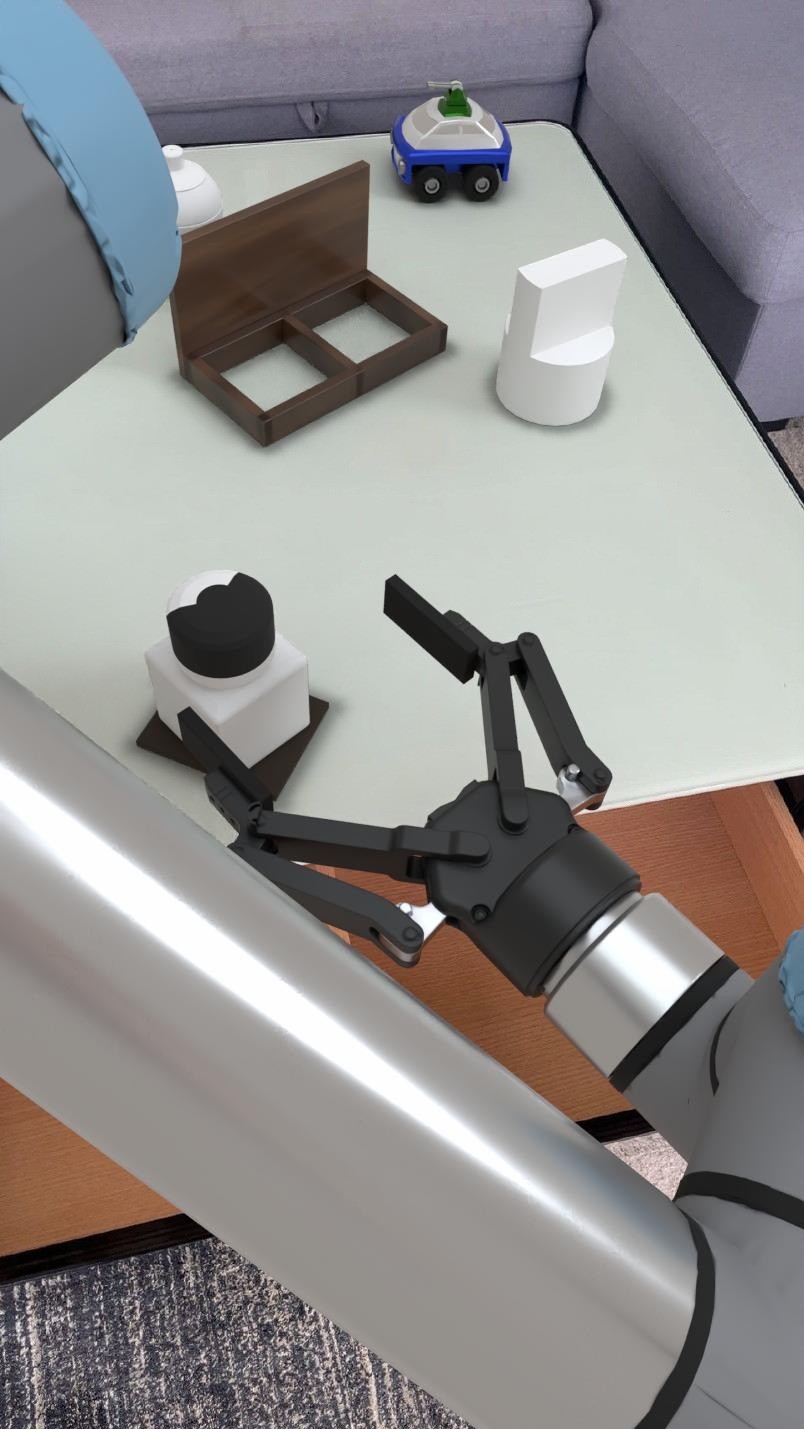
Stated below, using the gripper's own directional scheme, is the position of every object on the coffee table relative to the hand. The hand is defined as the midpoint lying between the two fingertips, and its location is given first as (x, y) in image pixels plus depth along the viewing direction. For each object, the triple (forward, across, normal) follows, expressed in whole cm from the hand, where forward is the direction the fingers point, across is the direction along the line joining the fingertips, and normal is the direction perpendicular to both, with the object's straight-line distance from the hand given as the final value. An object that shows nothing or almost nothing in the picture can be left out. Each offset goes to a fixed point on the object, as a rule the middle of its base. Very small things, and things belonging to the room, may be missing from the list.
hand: (292, 655), depth 56 cm
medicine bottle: (+7, 0, -14) cm, 15 cm away
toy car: (+47, +58, -14) cm, 76 cm away
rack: (+32, +28, -14) cm, 45 cm away
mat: (+7, 0, -14) cm, 16 cm away
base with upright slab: (+17, +41, -14) cm, 47 cm away
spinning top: (+49, +27, -15) cm, 58 cm away
